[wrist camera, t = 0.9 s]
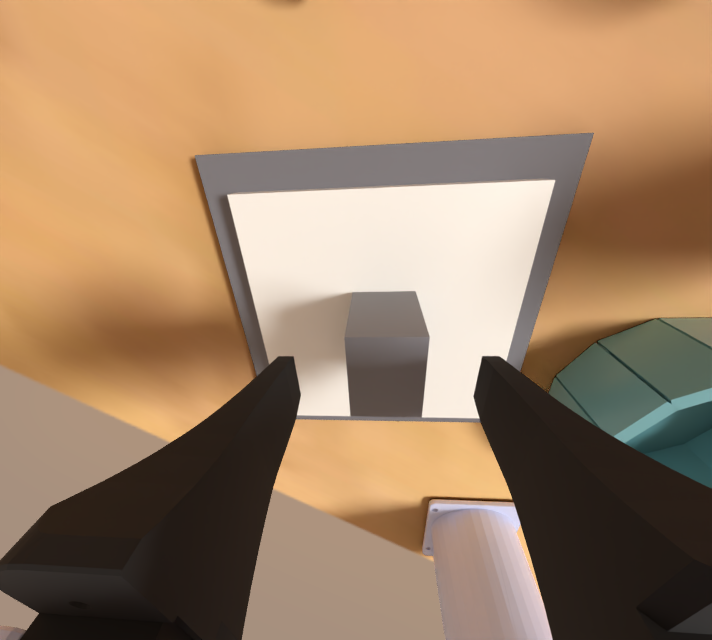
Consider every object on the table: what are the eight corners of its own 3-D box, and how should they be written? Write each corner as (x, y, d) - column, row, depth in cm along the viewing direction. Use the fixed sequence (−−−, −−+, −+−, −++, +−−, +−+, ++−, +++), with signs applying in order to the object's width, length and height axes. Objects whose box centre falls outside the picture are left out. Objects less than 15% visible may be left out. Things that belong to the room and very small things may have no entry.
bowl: (689, 453, 20) (767, 526, 16) (526, 449, 20) (561, 517, 17) (804, 316, 14) (965, 374, 10) (577, 318, 15) (647, 373, 11)
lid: (485, 406, 18) (520, 484, 14) (286, 403, 19) (259, 475, 14) (541, 178, 12) (642, 188, 7) (237, 192, 12) (163, 208, 8)
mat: (500, 415, 19) (504, 422, 18) (271, 412, 20) (268, 418, 20) (584, 134, 11) (593, 132, 11) (202, 155, 12) (194, 155, 12)
